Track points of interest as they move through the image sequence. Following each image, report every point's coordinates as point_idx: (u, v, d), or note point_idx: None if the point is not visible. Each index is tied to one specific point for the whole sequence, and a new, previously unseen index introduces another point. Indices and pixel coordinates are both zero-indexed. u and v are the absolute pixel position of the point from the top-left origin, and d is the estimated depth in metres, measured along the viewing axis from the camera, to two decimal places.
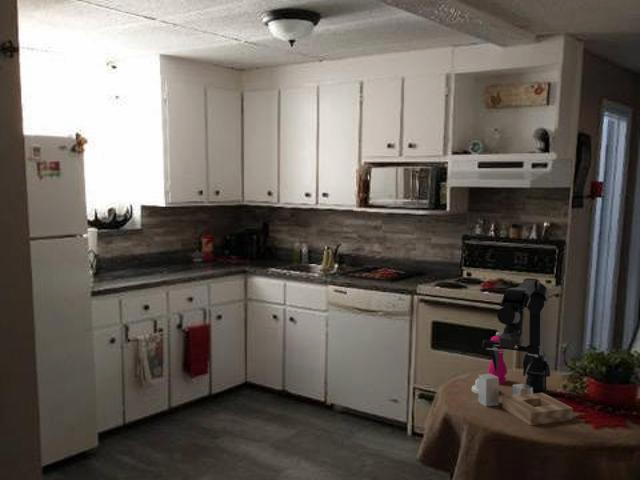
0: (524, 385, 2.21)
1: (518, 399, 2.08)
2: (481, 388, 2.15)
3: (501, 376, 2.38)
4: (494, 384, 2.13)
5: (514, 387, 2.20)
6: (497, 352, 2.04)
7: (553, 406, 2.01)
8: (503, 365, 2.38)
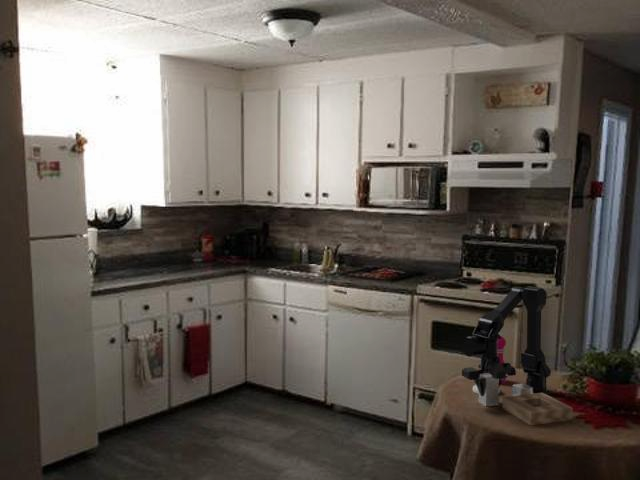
0: (524, 385, 2.21)
1: (518, 399, 2.08)
2: None
3: None
4: (494, 384, 2.13)
5: (514, 387, 2.20)
6: None
7: (553, 406, 2.01)
8: None
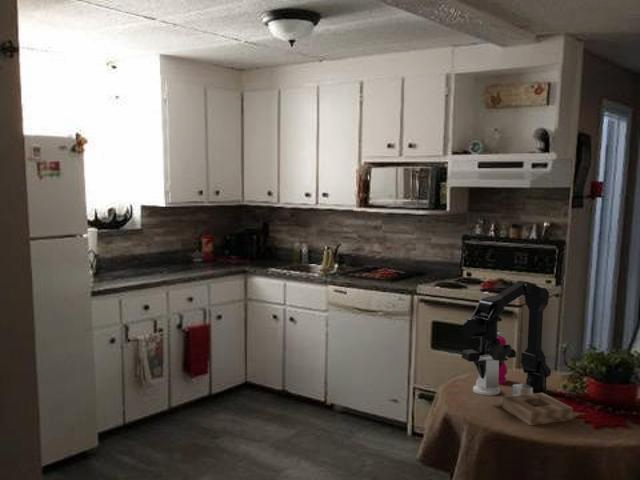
0: (524, 385, 2.21)
1: (518, 399, 2.08)
2: None
3: (501, 376, 2.38)
4: (494, 366, 2.13)
5: (514, 386, 2.20)
6: None
7: (553, 406, 2.01)
8: (503, 365, 2.38)
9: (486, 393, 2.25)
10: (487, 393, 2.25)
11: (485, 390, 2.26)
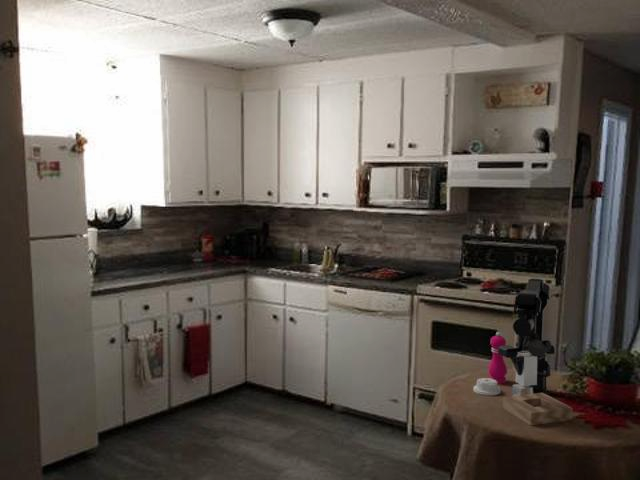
0: None
1: (518, 399, 2.08)
2: None
3: (501, 376, 2.38)
4: (532, 362, 2.04)
5: (514, 387, 2.20)
6: None
7: (553, 406, 2.01)
8: (503, 365, 2.38)
9: (486, 393, 2.25)
10: (487, 393, 2.25)
11: (485, 390, 2.26)
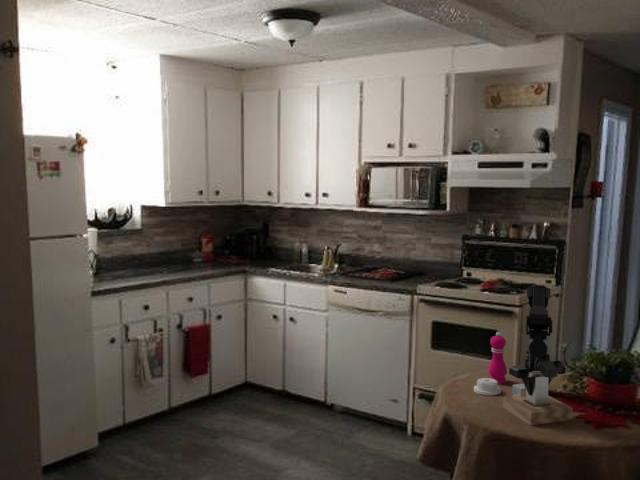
0: (524, 385, 2.21)
1: (518, 399, 2.08)
2: None
3: (501, 376, 2.38)
4: (544, 383, 2.03)
5: (514, 387, 2.20)
6: None
7: (553, 406, 2.01)
8: (503, 365, 2.38)
9: (487, 393, 2.25)
10: (488, 393, 2.25)
11: (486, 390, 2.26)
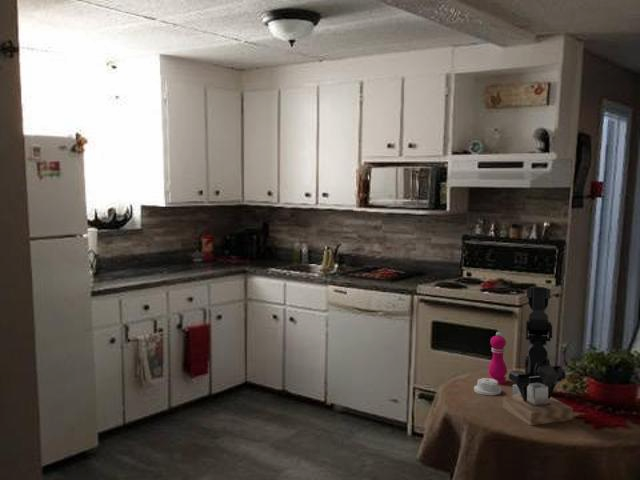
0: None
1: (518, 399, 2.08)
2: (529, 398, 2.05)
3: (501, 376, 2.38)
4: (543, 394, 2.03)
5: (514, 386, 2.20)
6: None
7: (553, 406, 2.01)
8: (503, 365, 2.38)
9: (487, 393, 2.25)
10: (488, 393, 2.25)
11: (486, 390, 2.26)
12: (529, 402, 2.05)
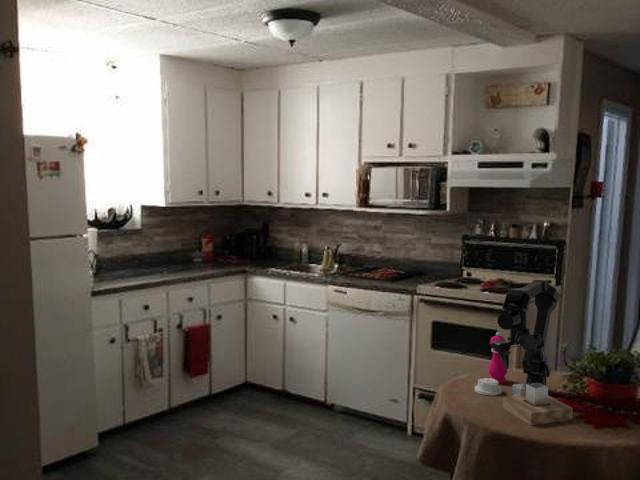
0: (524, 385, 2.21)
1: (518, 399, 2.08)
2: (529, 398, 2.05)
3: (501, 376, 2.38)
4: (543, 394, 2.03)
5: (514, 386, 2.20)
6: None
7: (553, 406, 2.01)
8: (503, 365, 2.38)
9: (488, 393, 2.25)
10: (489, 393, 2.25)
11: (487, 390, 2.26)
12: (529, 402, 2.05)
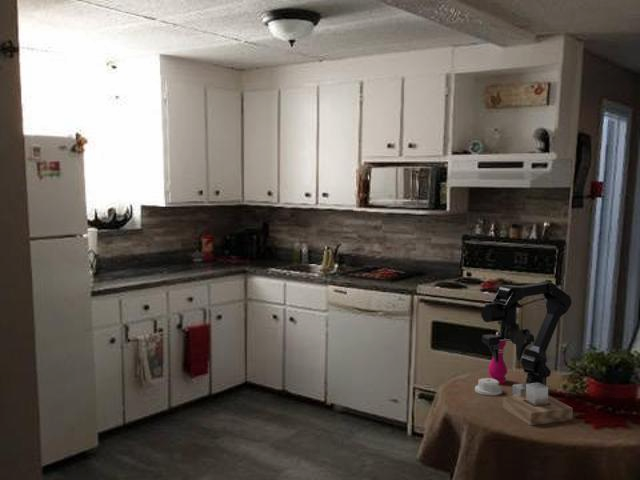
0: (524, 385, 2.21)
1: (518, 399, 2.08)
2: (529, 398, 2.05)
3: (501, 376, 2.38)
4: (543, 394, 2.03)
5: (514, 386, 2.20)
6: None
7: (553, 406, 2.01)
8: (503, 365, 2.38)
9: (488, 393, 2.25)
10: (489, 393, 2.25)
11: (487, 390, 2.26)
12: (529, 402, 2.05)
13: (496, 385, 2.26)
